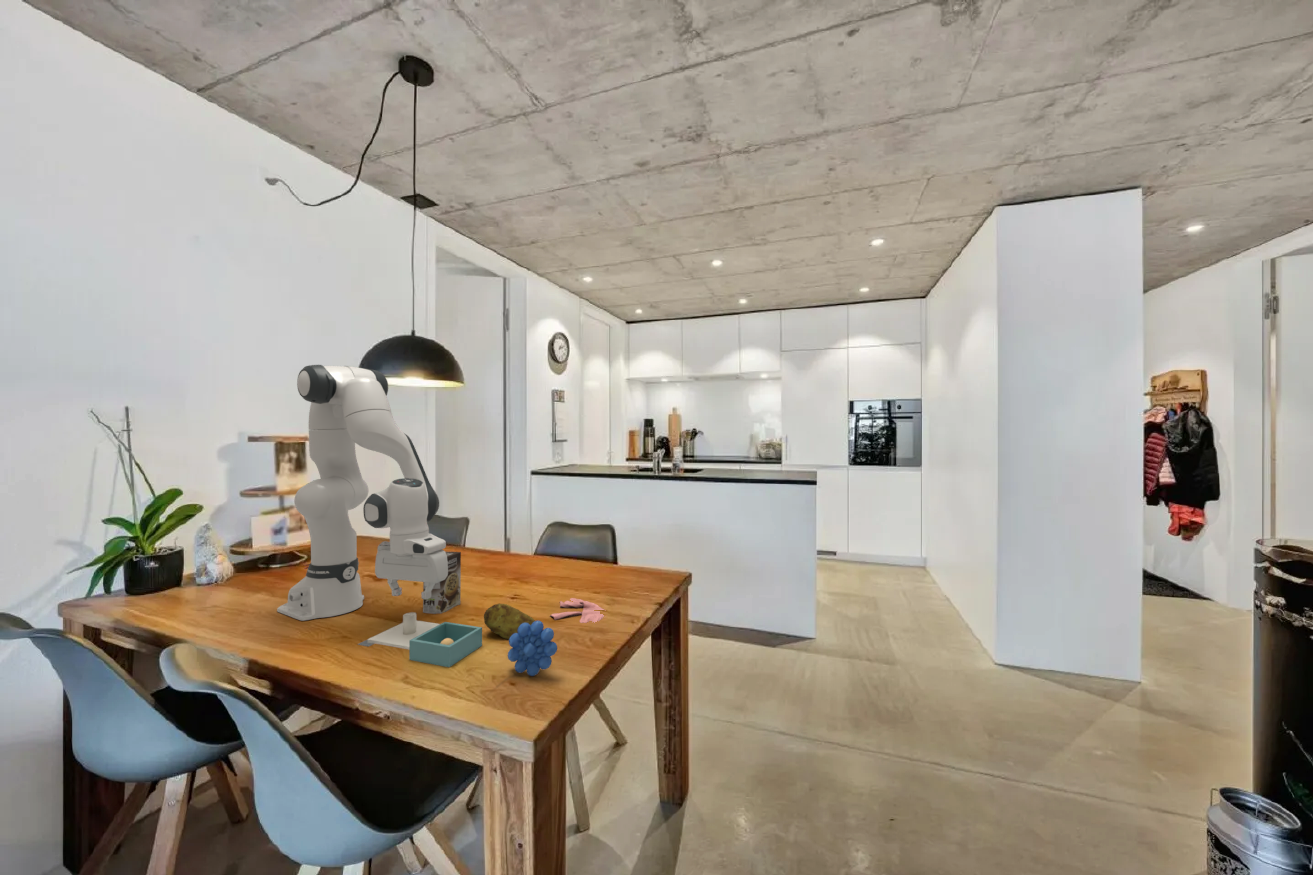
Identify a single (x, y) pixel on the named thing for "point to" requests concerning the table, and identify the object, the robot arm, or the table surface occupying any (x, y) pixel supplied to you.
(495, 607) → the potato
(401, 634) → the lid
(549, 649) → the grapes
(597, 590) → the table surface
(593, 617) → the cloth
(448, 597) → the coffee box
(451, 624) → the dish
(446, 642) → the apricot
